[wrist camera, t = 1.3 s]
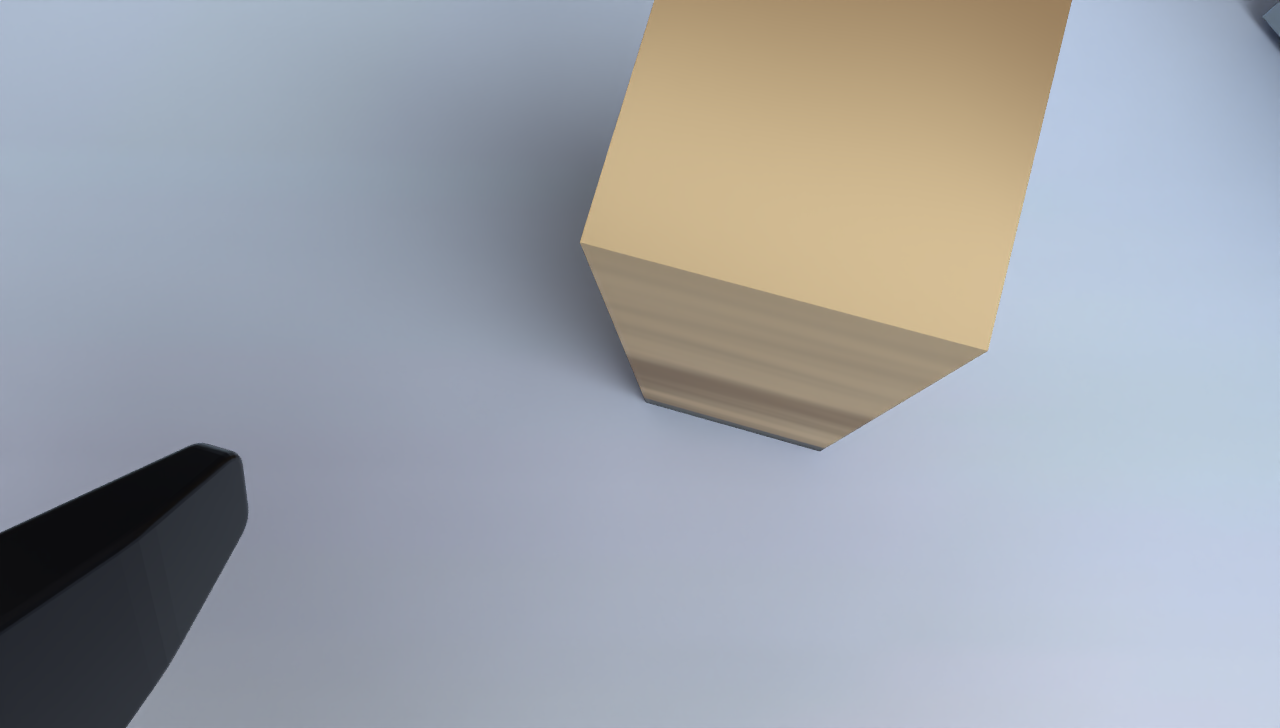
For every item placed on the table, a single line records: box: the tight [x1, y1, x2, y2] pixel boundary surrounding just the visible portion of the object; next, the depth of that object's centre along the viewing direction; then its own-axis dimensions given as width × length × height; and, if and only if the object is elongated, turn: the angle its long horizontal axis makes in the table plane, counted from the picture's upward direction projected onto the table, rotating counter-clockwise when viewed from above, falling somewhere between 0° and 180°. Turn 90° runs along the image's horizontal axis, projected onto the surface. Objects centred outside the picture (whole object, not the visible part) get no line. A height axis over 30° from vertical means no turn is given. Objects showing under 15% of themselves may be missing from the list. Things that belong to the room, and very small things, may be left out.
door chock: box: [580, 0, 1072, 451], centre depth 16 cm, size 5×4×12 cm
